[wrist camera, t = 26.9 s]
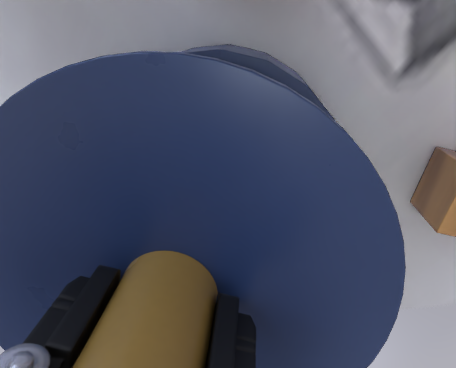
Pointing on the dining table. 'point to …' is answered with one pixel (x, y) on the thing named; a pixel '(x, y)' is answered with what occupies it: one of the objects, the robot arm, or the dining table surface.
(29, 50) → the dining table surface
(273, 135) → the tin lid
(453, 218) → the piece
